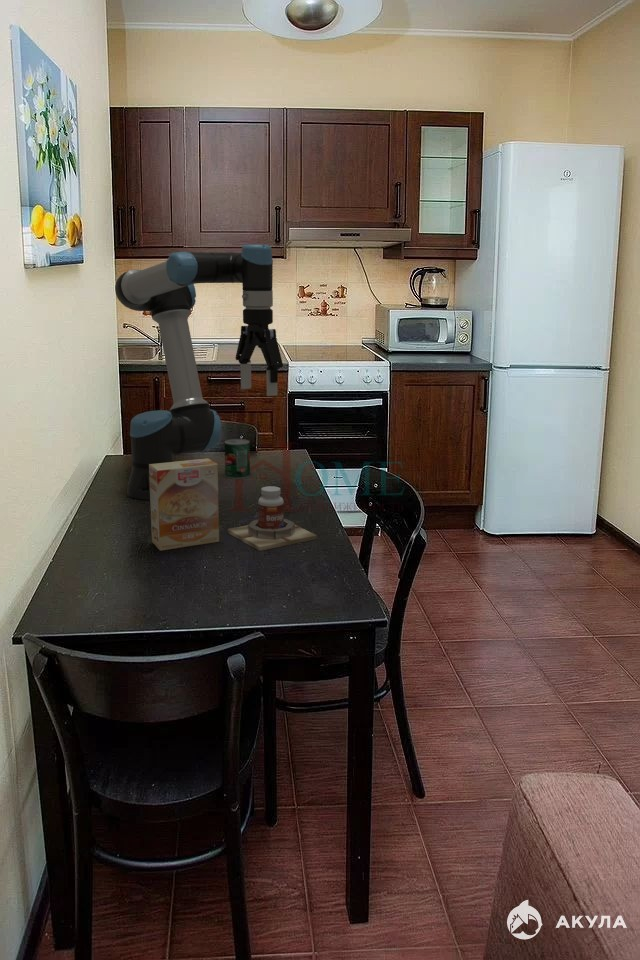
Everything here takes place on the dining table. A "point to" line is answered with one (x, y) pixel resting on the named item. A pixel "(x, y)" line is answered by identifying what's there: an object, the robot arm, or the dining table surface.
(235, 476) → the canned tomato
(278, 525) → the pill bottle
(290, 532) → the socket
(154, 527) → the coffeecake box
